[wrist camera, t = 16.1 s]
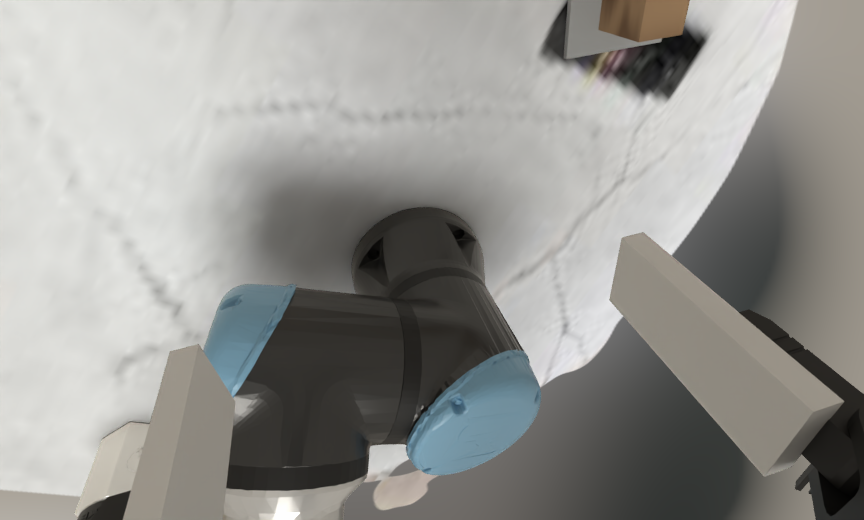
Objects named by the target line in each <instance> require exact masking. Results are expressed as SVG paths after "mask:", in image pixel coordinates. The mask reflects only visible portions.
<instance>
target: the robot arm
mask: <svg viewBox="0 0 864 520" xmlns="http://www.w3.org/2000/svg"><path fill="white" fill-rule="evenodd" d="M352 278H353V283H354V288H355V292H356V294H350V293H340V292H330V291H320V290H311V289H302V288H296V286H297V285H294V284H290V285H288V286H273V285H256V284H245V285H240V286H237V287H235V288H233V289H232V290H230V291H229V292H228V293H227V294H226V295H225V296H224V297H223V299H222V300H221V302H220V304H219V307H218V309H217V312H216V315H215V317H214V320H213V323H212V326H211V329H210V332H209V335H208V338H207V341H206V344H205V347H204V350H202V349H201V347H200V345H199V344H198V345H194V346H190V347H186V348H182V349H178V350H174V351H170V353H169V357H168V361H167V364H166V368H165V371H164V375H163V378H162V382H161V385H160V389H159V393H158V396H157V400H156V403H155V407H154V410H153V414H152V418H151V421H150V425H149V428H148V432H147V435H146V439H145V442H144V446H143V450H142V453H141V457H140V460H139V464H138V467H137V471H136V474H135V478H134V482H133V485H132V489H131V490H130V491H127V492H123V493H120V494H116V495H113V496H109V497H106V499H105V500H104V502H103V503H102V505H101V506H100V508H99V509H98V511H97V512H96V514H95V515H94V517H93V518H92V520H343V515H344V503H345V501H346V499H347V498H348V496H349V495H350V494H351V493H352V492H353V491H354V490H355V489H356V488H357V487H358V486H359V485H360V484H361V483H362V482H363V481H364V480H365V479H366V478H367V473H368V463H369V449H370V446H372V445H382V444H405V445H407V446H406V452H407V456H408V458H409V459H411V461H412V463H413V464H414V466H415V467H416V468H417V469H419V470H422V471H423V472H424V473H426V474H430V475H448V474H454V473H458V472H461V471H465V470H468V469H471V468H473V467H476V466H478V465H480V464H482V463H484V462H486V461H488V460H490V459H492V458H494V457H495V456H497V455H498V454H500V453H502V452H503V451H504V450H506V449H507V448H508V447H510V446H511V445H512V444H513V443H515V442H516V441H517V440H518V439H519V438H520V437H521V436H522V435H523V434H524V433H525V432H526V430H527V429H528V428H529V427H530V425H531V424H532V422H533V421H534V419H535V417H536V415H537V413H538V410H539V407H540V403H541V391H540V386H539V384H538V381H537V379H536V377H535V375H534V373H533V371H532V369H531V367H530V364H529V359H528V356H527V355H526V353H525V352H524V351H523V349H522V347H521V346H520V344H519V342H518V340H517V339H516V337H515V335H514V334H513V332H512V330H511V329H510V327H509V325H508V324H507V322H506V320H505V318H504V317H503V315H502V313H501V312H500V310H499V308H498V307H497V305H496V303H495V302H494V300H493V298H492V296H491V295H490V293H489V292H488V290H487V288H486V286H485V275H484V261H483V253H482V249H481V246H480V244H479V242H478V240H477V238H476V237H475V235H474V233H473V232H472V230H471V229H470V227H469V226H468V225H467V224H466V223H465V222H464V221H463V220H462V219H461V218H459V217H458V216H456V215H454V214H452V213H450V212H448V211H445V210H441V209H436V208H414V209H408V210H404V211H401V212H398V213H395V214H393V215H391V216H389V217H387V218H385V219H383V220H382V221H380V222H379V223H377V224H376V225H375V226H374V227H372V228H371V229H370V230H369V231H368V232H367V233H366V235H365V236H364V237H363V238H362V240H361V241H360V243H359V244H358V246H357V248H356V250H355V253H354V256H353V260H352ZM609 300H610V301H611V302H612V304H613V305H614V306H615V307H616V308H617V309H618V310H619V312H620V313H621V314H622V315H623V316H624V317H625V318H626V320H627V321H628V322H629V323H630V324H631V325H632V326H633V327H634V329H635V330H636V331H637V332H638V333H639V334H640V335H641V337H642V338H643V339H644V340H645V341H646V342H647V343H648V345H649V346H650V347H651V348H652V349H653V350H654V351H655V353H656V354H657V355H658V356H659V357H660V358H661V359H662V361H663V362H664V363H665V364H666V365H667V366H668V367H669V368H670V370H671V371H672V372H673V373H674V374H675V375H676V377H677V378H678V379H679V380H680V381H681V382H682V383H683V385H684V386H685V387H686V388H687V389H688V390H689V391H690V392H691V394H692V395H693V396H694V397H695V398H696V399H697V400H698V402H699V403H700V404H701V405H702V406H703V407H704V408H705V410H706V411H707V412H708V413H709V414H710V415H711V416H712V418H713V419H714V420H715V421H716V422H717V423H718V424H719V425H720V427H721V428H722V429H723V430H724V431H725V432H726V434H727V435H728V436H729V437H730V438H731V439H732V440H733V441H734V443H735V444H736V445H737V446H738V447H739V448H740V450H741V451H742V452H743V453H744V454H745V455H746V456H747V457H748V459H749V460H750V461H751V462H752V463H753V464H754V465H755V466H756V468H757V469H758V470H759V471H760V472H761V473H762V475H763V476H768V475H770V474H773V473H776V472H779V471H781V470H784V469H787V468H790V467H792V465H793V464H794V463H795V462H796V460H797V459H798V458H799V457H800V455H801V454H802V455H803V456H804V457H805V458H806V459H807V460H808V461H809V462H810V463H811V464H810V465H809V467H808V468H807V469H806V470H805V471H804V472H803V474H802V475H801V476H800V477H799V478H798V480H797V481H796V486H795V489H796V490H799V491H801V490H802V489H803V488H804V486H805V485H806V484H807V483H808V482H810V488H811V489H810V491H809V494H812V500H813V505H814V512H815V517H816V520H864V394H863V393H861V392H860V391H859V390H857V389H856V388H855V387H854V386H852V385H851V384H850V383H849V382H847V381H846V380H845V379H844V378H842V377H841V376H840V375H839V374H837V373H836V372H835V371H834V370H832V369H831V368H830V367H829V366H828V365H826V364H825V363H824V362H822V361H821V360H820V359H819V358H818V357H816V356H815V355H814V354H813V353H811V352H810V351H809V350H805V349H804V346H803V345H801V344H800V343H799V342H797V341H796V340H795V339H794V338H790V337H789V334H787V333H786V332H785V331H784V330H783V329H781V328H780V327H779V326H777V325H776V324H775V323H774V322H773V321H771V320H769V319H767V318H765V317H763V316H761V315H759V314H757V313H755V312H753V311H751V310H746V311H742V312H737V311H736V310H735V309H734V308H733V307H732V306H730V305H729V304H728V303H727V302H726V301H724V300H723V299H722V298H721V297H720V296H718V295H717V294H716V293H715V292H714V291H712V290H711V289H710V288H709V287H708V286H707V285H705V284H704V283H703V282H702V281H701V280H699V279H698V278H697V277H696V276H695V275H693V274H692V273H691V272H690V271H689V270H688V269H686V268H685V267H684V266H683V265H682V264H680V263H679V262H678V261H677V260H675V259H674V258H673V257H672V256H671V255H670V254H668V253H667V252H666V251H665V250H664V249H663V248H661V247H660V246H659V245H658V244H657V243H655V242H654V241H653V240H652V239H651V238H649V237H648V236H647V235H646V234H645V233H644V232H642V233H638V234H634V235H630V236H626V237H623V238H622V240H621V245H620V250H619V255H618V260H617V265H616V270H615V274H614V279H613V284H612V289H611V294H610V299H609Z"/></svg>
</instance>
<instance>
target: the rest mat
mask: <svg viewBox="0 0 864 520" xmlns="http://www.w3.org/2000/svg"><path fill="white" fill-rule="evenodd" d="M601 4H602V0H568V6H567V19H566V31H565V44H564V57H563V58H565V59H571V58H576V57H582V56H587V55H593V54H598V53H603V52H609V51H614V50H620V49H625V48H631V47H636V46H641V45H647V44H652V43H658V42H661V39H662V38H660V39H655V40H649V41H644V42H636V41H632V40H629V39H626V38H623V37H620V36H616V35H613V34H610V33H607V32H604V31H600V30H598V29H599V21H600V12H601Z"/></svg>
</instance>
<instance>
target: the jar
mask: <svg viewBox="0 0 864 520" xmlns="http://www.w3.org/2000/svg"><path fill="white" fill-rule="evenodd" d="M149 425H150V424H145V423H134V422H130V423H128V424H126V425H125V426H123V427H121V428H120V429H118V430H116V431H115V432H113V433H112V434H110V435H108V436H107V437H105V438H103V439H102V440H101V443H100V446H99V449H98V451H97V454H96V457H95V459H94V462H93V465H92V468H91V470H90V473H89V476H88V479H87V481H86V484H85V487H84V489H83V492H82V495H81V498H80V501H79V503H78V506H77V509H76V511H75V516H76V517H77V518H78V520H92V518H93V517H94V515H95V514H96V512H97V511H98V509H99V508H100V506H101V505H102V503H103V502H104V500H105V499H106V497H109V496H113V495H116V494H120V493H123V492H127V491H130V490H131V489H132V485H133V482H134V478H135V474H136V471H137V467H138V464H139V460H140V457H141V453H142V450H143V446H144V442H145V439H146V435H147V432H148V428H149Z"/></svg>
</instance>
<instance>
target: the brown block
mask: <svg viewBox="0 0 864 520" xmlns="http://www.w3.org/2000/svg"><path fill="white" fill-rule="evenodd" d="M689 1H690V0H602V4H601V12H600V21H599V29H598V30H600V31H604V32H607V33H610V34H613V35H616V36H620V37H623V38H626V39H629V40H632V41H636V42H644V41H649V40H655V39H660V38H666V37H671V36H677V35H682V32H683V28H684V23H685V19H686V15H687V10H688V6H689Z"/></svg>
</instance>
